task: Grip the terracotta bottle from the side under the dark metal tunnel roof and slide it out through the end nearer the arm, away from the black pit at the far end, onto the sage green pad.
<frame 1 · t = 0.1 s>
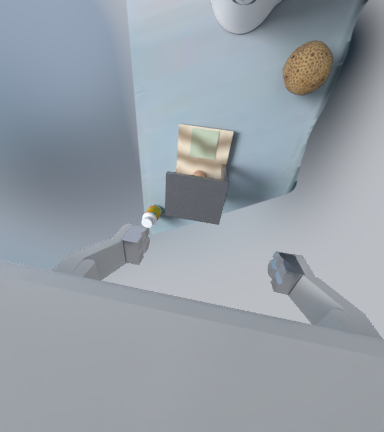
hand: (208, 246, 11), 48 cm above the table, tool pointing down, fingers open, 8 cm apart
natural sponge: (296, 74, 41), on the table
terracotta bottle: (199, 177, 56), point 2 cm above the table, touching birch board
tunnel roof: (197, 188, 49), on the birch board, point 10 cm above the table
birch board: (200, 168, 56), on the table
supplement bottle: (155, 209, 68), on the table
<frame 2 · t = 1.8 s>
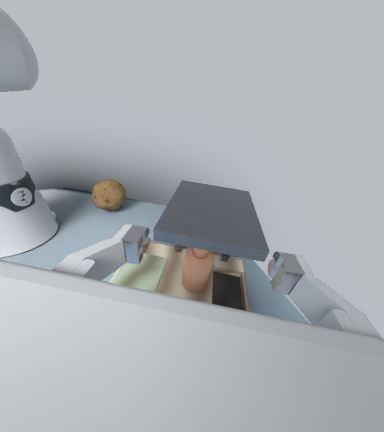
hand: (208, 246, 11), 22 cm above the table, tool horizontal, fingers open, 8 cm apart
natural sponge: (111, 211, 52), on the table
terracotta bottle: (194, 280, 32), point 2 cm above the table, touching birch board
tunnel roof: (204, 248, 28), on the birch board, point 10 cm above the table
birch board: (181, 284, 33), on the table
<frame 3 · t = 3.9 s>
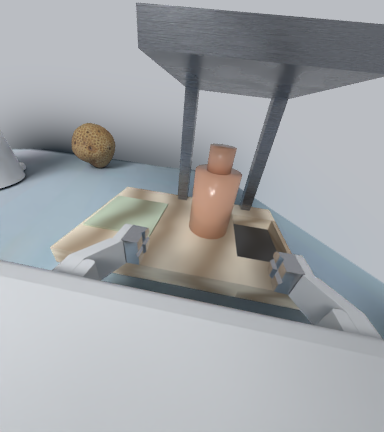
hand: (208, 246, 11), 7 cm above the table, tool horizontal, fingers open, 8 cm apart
natural sponge: (98, 168, 42), on the table
terracotta bottle: (207, 226, 22), point 2 cm above the table, touching birch board
tunnel roof: (224, 163, 18), on the birch board, point 10 cm above the table
birch board: (187, 235, 23), on the table
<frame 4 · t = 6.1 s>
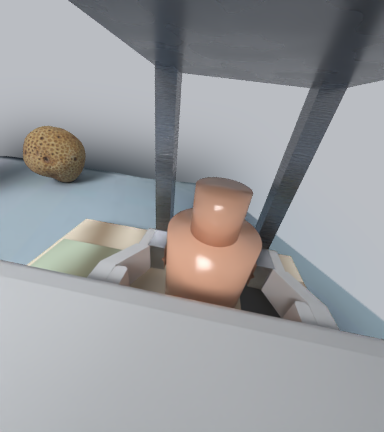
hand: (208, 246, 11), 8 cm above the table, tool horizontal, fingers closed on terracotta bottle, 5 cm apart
natural sponge: (65, 183, 33), on the table
terracotta bottle: (196, 306, 13), point 2 cm above the table, touching birch board, gripper
tunnel roof: (226, 215, 9), on the birch board, point 10 cm above the table
birch board: (165, 313, 14), on the table
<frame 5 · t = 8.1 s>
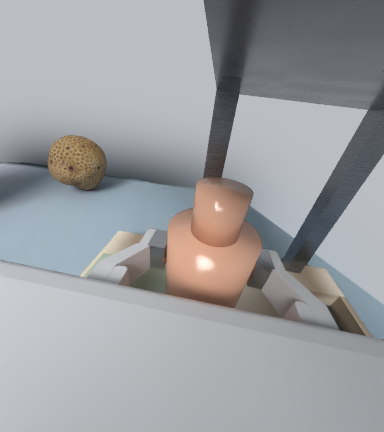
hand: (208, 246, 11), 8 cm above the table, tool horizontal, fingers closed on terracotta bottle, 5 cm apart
natural sponge: (85, 191, 33), on the table
terracotta bottle: (196, 306, 13), point 3 cm above the table, touching gripper
tunnel roof: (300, 242, 9), on the birch board, point 10 cm above the table
birch board: (212, 329, 14), on the table
when the fingers open (8 cm above the table, at t = 10.0 s): terracotta bottle stays where it is, resting on birch board.
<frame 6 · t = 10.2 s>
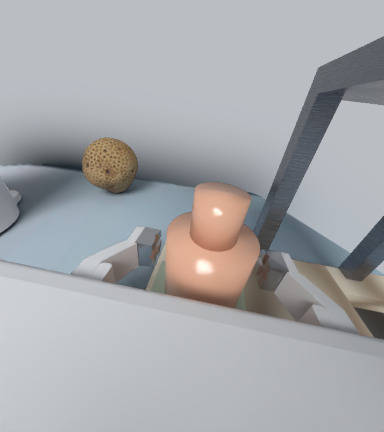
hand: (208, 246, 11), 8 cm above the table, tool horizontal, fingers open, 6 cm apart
natural sponge: (115, 193, 33), on the table
terracotta bottle: (196, 308, 13), point 2 cm above the table, touching birch board
birch board: (287, 342, 14), on the table
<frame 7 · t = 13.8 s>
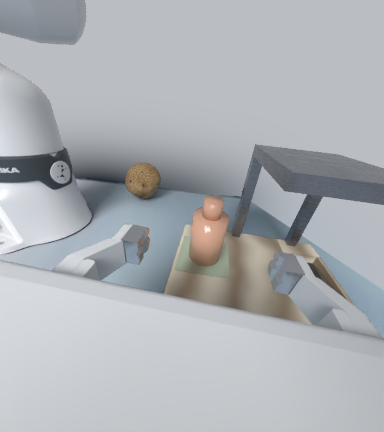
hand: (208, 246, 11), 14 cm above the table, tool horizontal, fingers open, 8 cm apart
natural sponge: (144, 199, 47), on the table
terracotta bottle: (204, 254, 27), point 2 cm above the table, touching birch board
tunnel roof: (292, 222, 22), on the birch board, point 10 cm above the table
birch board: (249, 272, 28), on the table
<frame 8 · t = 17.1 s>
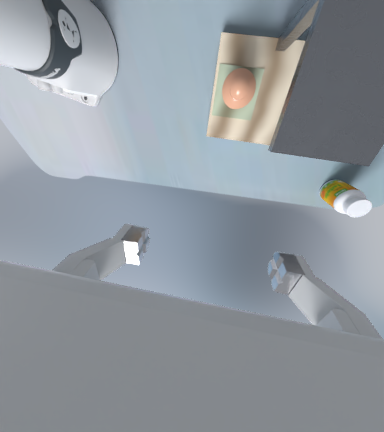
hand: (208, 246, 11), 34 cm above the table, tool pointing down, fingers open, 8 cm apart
terracotta bottle: (236, 93, 32), point 2 cm above the table, touching birch board
tunnel roof: (317, 93, 24), on the birch board, point 10 cm above the table
birch board: (275, 100, 33), on the table
supplement bottle: (330, 189, 41), on the table
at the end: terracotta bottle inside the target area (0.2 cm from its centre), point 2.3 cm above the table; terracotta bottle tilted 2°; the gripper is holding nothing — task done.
